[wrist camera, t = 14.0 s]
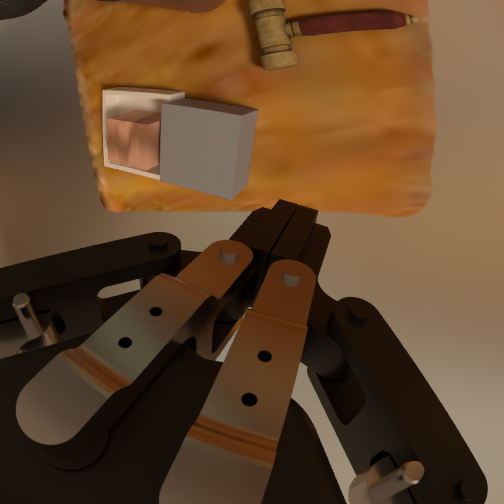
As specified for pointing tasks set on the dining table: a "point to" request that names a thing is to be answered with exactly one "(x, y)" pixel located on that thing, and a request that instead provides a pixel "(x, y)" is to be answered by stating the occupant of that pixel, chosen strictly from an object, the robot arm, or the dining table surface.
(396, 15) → the gavel
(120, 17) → the dining table surface
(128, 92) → the box
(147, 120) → the terracotta block
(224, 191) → the grey platform
